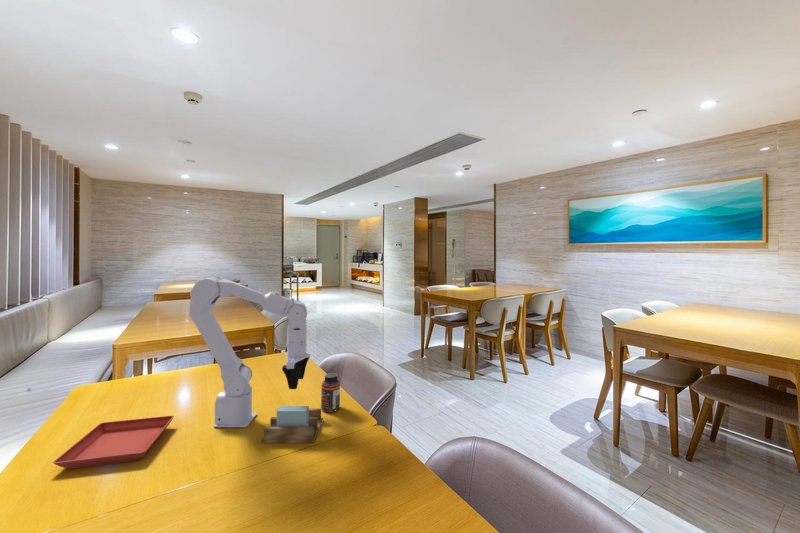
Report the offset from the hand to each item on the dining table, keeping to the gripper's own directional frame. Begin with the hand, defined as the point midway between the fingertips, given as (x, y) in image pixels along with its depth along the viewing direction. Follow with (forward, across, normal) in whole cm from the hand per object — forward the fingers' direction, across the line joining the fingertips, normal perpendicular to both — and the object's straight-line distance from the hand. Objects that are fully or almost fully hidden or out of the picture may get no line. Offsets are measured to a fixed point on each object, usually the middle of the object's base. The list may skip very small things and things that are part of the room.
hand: (296, 383), depth 103 cm
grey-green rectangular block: (+9, -12, -2) cm, 15 cm away
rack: (+10, -10, -2) cm, 14 cm away
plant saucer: (+10, -17, +40) cm, 45 cm away
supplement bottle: (+10, +4, -10) cm, 15 cm away
